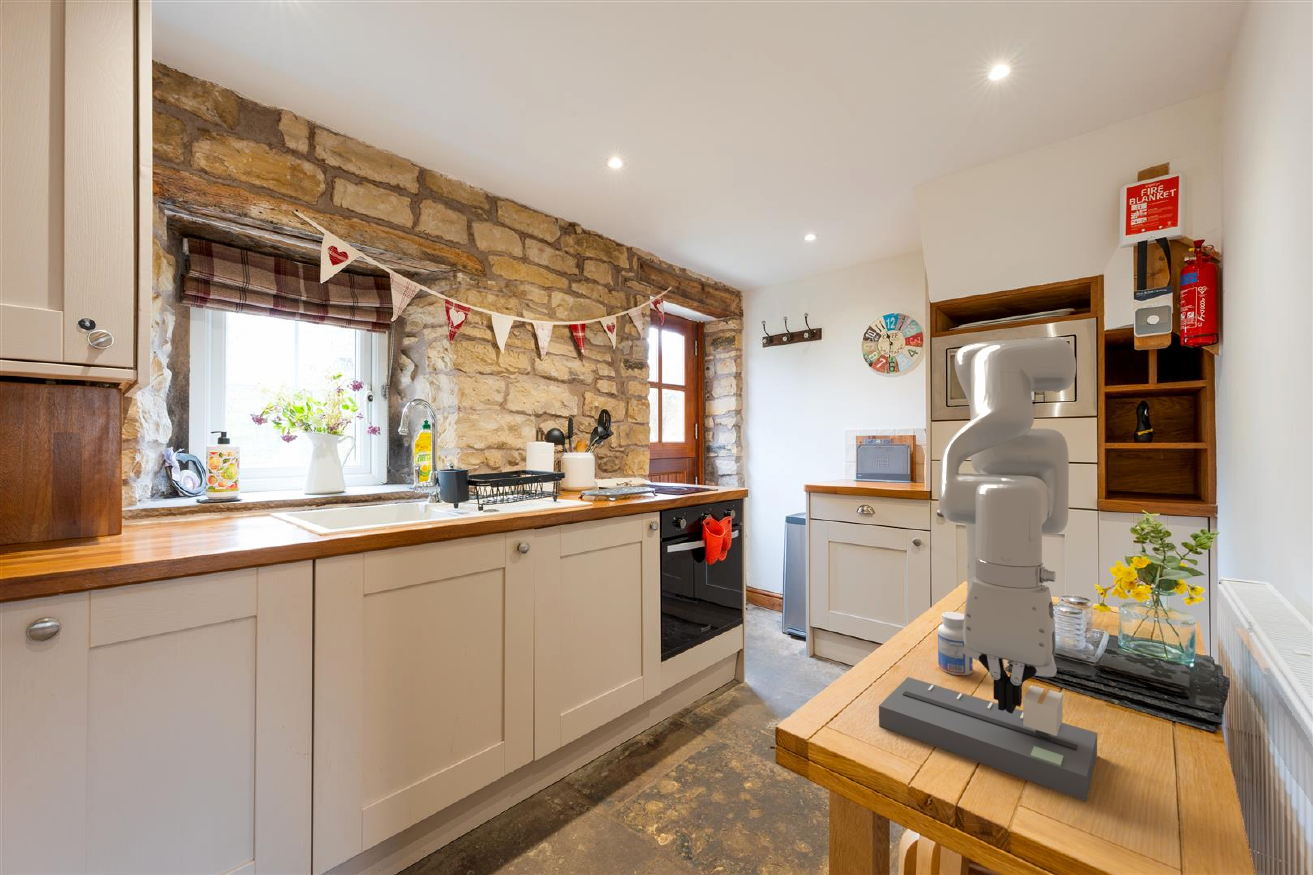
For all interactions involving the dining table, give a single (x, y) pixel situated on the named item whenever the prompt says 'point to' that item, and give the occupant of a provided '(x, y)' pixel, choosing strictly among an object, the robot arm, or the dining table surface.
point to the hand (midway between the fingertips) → (1007, 707)
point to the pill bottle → (953, 645)
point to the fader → (1043, 710)
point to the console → (992, 736)
